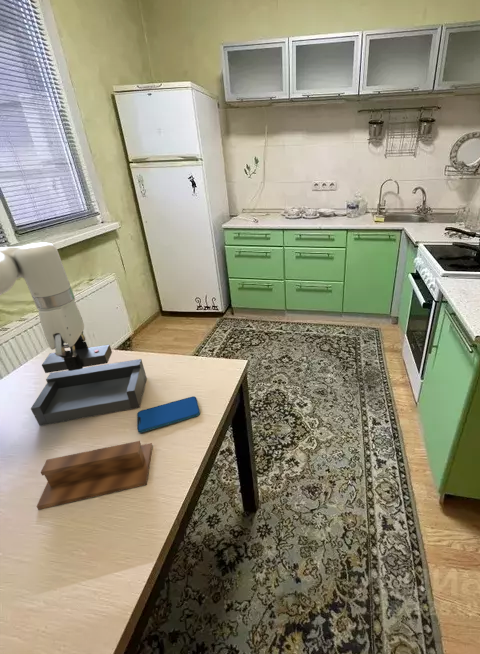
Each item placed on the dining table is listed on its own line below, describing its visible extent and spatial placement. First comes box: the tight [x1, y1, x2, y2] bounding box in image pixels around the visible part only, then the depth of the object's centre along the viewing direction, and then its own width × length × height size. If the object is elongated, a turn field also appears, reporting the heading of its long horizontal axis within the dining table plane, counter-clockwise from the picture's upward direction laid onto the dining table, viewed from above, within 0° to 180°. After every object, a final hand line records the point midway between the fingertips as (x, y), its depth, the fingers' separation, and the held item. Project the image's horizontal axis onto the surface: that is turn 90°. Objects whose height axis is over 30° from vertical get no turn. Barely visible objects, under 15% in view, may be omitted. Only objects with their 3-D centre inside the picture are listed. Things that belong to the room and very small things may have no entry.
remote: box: [41, 344, 113, 374], centre depth 82 cm, size 14×5×3 cm, turn 104°
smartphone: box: [136, 395, 201, 434], centre depth 84 cm, size 7×1×15 cm
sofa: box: [30, 358, 147, 427], centre depth 89 cm, size 24×13×7 cm, turn 104°
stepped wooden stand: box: [36, 440, 153, 511], centre depth 68 cm, size 20×10×6 cm, turn 104°
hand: (79, 361), depth 82 cm, fingers closed on remote, 5 cm apart
